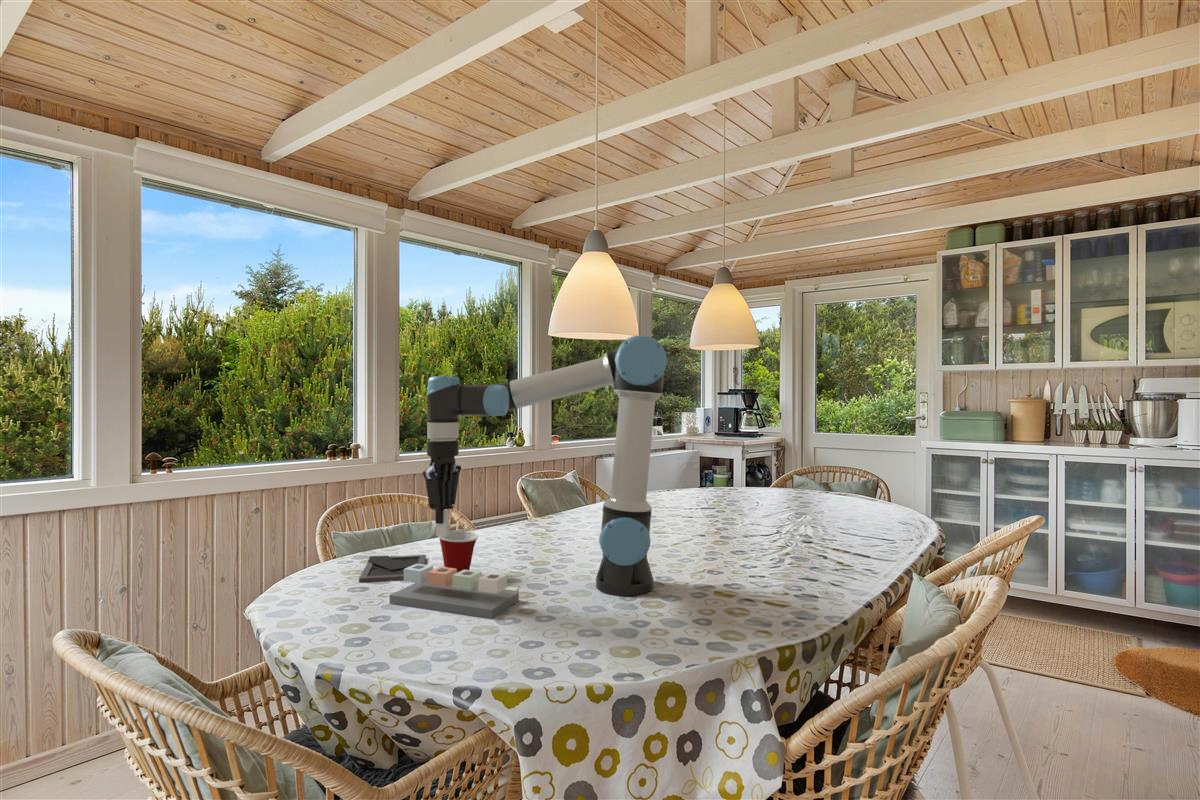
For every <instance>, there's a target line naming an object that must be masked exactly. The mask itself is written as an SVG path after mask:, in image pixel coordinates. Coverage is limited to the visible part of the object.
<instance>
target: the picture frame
mask: <svg viewBox="0 0 1200 800" xmlns="http://www.w3.org/2000/svg"><path fill="white" fill-rule="evenodd" d="M425 559H427V554H416V555H413V554H412V555H411V554H410V555H394V556H393V555H392V556H389V555H370V556H369V558H368V560H367V563H366V565H365V567H364V568H363V570H362V573H360V576H359V578H358V583H372V582H371V581H376V582H389V581H388V580H394V581H404V569H405V568H407V567H410V566H412V565H414V564H423V565H426V564H425V563H426V560H425ZM386 580H387V581H386Z"/></svg>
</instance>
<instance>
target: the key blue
mask: <svg viewBox="0 0 1200 800" xmlns="http://www.w3.org/2000/svg"><path fill="white" fill-rule="evenodd" d="M433 569H434V566H433V565H431V564H430V565H429V564H424V565H423V564H414V565H412V566H410V567H407V568H405V569H404V580H403V582H408V583H413V584H414V583H423V582H425V581H427V580H428V572H429V571H431V570H433Z"/></svg>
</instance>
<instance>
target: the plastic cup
mask: <svg viewBox="0 0 1200 800" xmlns="http://www.w3.org/2000/svg"><path fill="white" fill-rule="evenodd" d="M437 537H438V539H439V543H440V547H441V552H442V560H443V567H447V568H455V569H457V573H458V572H460V571H462V570H470V569H471V565H472V560H473V554H474V549H475V548H474V547H475V545H476V542H477V539H479V535H478V533H475V532H473V531H467V530H449V536H447V537H439V536H437Z"/></svg>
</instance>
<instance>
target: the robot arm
mask: <svg viewBox="0 0 1200 800" xmlns="http://www.w3.org/2000/svg"><path fill="white" fill-rule="evenodd" d="M667 359H668V358H667V354H666V350H665V348H664V347H663V345H662V344H661V343H660V342H659V341H658V340H657V339H655V338H654V337H651V336H648V335H644V334H642V335H633V336H630V337H628V338H626V339H625V340H624V341H623V342H622V343H621V344H620V345H619V347H618V348H616V349H614V350H610V351H607V352H605V353H604V355H602V357H599V358H595V359H592V360H588V361H583V362H579V363H576V364H572V365H568V366H563V367H560V368H556V369H553V370H548V371H544V372H541V373H538V374H532V375H529V376H526V377H521V378H517V379H513V380H509V381H505V382H501V383H498V384H497V383H496V384H462V383H461V382H460V379H459V377H458V376H441V375H440V376H438V375H435V376H431V377H429V378H428V380H427V391H426V392H427V393H426V409H427V410H426V414H427V419H426V421H427V423H426V424H427V425H426V426H427V427H426V429H427V430H426V431H427V432H426V435H427V436H426V438H427V439H429V440H427V442H426V455H427V456H429V457H430V461H429V468H428V469H426V470H423V472H422V475H423V477H424V480H425V486H426V492H427V499H428V506H429V509H431V510H434V512H435V537H438V536H439V537H447V536H449V531H450V528H449V527H450V510H453V509H454V505H455V504H456V499H457V492H458V486H459V485H458V483H459V477H460V473H461V471H462V466H461V465H459V464H458V465H457V464H456V458H455V457H457V456H458V455H459V453H460V451H459V450H460V449H459V446H460V445H459V443H460V442H459V440H457V439H458V438H459V437H460V420H459V418H460V416H476V417H479V416H480V417H481V416H482V417H500V416H501V417H502V416H505V415H507V414H508V411H509V412H510V411H514V410H517V409H520V408H524V407H529V406H533V405H536V404H540V403H544V402H545V403H546V402H548V401H553V400H557V399H561V398H565V397H568V396H573V395H578V394H580V393H585V392H589V391H592V390H597V389H601V388H605V387H612V388H613V392H614V393H615V394H616V395H617V396H618V407H617V408H618V410H617V411H618V412H617V421H616V422H617V423H616V432H615V443H614V454H613V465H612V474H611V475H612V477H611V486H610V487H611V488H610V497H609V498H608V499H605V500H604V502H603V506H602V509H601V510H602V516H601V517H602V518H601V528H600V529H601V530H600V533H599V537H598V541H599V546H600V550H601V552H602V559H601V561H600V565H599V568H598V570H597V573H596V577H595V587H596V589H597V590H598V591H600V592H602V593H604V594H609V595H614V596H615V595H616V596H637V595H638V594H639V595H644V594H646V592H647V593H649V592H651V591H652V590H653V589H654V577H653V573H652V570H651V569H652V568H651V567H650V563H649V561H648V551H649V549H650V547H651V536H650V535H651V534H650V531H651V523H652V522H651V521H652V510H653V508H652V506H651V505H650V503H649V502H648V501H647V494H648V486H649V485H648V482H649V471H650V461H651V450H652V439H653V430H654V429H653V428H654V418H655V407H656V401H657V399H659V398H660V397H662V396H663V387H664V379H665V377H664V376H665V371H666V368H667V365H668V360H667ZM439 537H438V538H439ZM650 590H651V591H650ZM648 591H649V592H648ZM643 593H644V594H643Z"/></svg>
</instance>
